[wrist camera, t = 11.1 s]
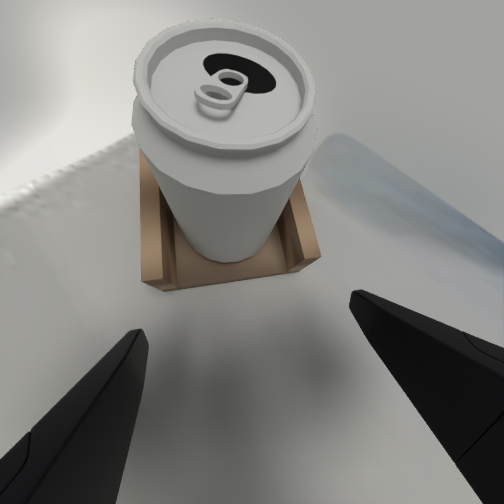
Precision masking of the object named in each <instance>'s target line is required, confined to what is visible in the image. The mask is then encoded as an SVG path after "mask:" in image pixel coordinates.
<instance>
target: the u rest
mask: <svg viewBox="0 0 504 504" xmlns="http://www.w3.org/2000/svg"><path fill="white" fill-rule="evenodd" d="M139 149H140V147H139ZM140 221H141V282H144V283H146V284H148V285H150V286H153V287H155V288H157V289H160V290H162V291H164V292H165V291H172V290H179V289H186V288H193V287H199V286H206V285H213V284H220V283H226V282H233V281H240V280H247V279H253V278H260V277H267V276H274V275H281V274H287V273H294V272H299V271H300V270H302V269H303V268H305V267H306V266H308V265H309V264H311V263H312V262H314V261H316V260H317V259H319V258H320V257H321V254H320V250H319V246H318V243H317V239H316V236H315V232H314V228H313V225H312V221H311V217H310V214H309V210H308V206H307V203H306V199H305V196H304V192H303V188H302V185H301V181H300V178H299V180H298V182H297V184H296V185H295V187H294V189H293V191H292V193H291V195H290V197H289V199H288V201H287V203H286V205H285V207H284V209H283V210H282V212H281V214H280V216H279V218H278V220H277V222H276V224H275V226H274V228H273V230H272V232H271V234H270V235H269V237H268V239H267V241H266V242H265V244H264V245H263V247H262V248H261V249H260V250H259V251H258V252H256V253H255V254H254V255H253V256H251V257H249V258H246V259H244V260H241V261H239V262H226V263H222V262H218V261H214V260H210V259H207V258H206V257H204V256H203V255H201V254H199V253H198V252H196V251H195V250H194V249H193V247H192V246H191V245H190V244H189V243H188V241H187V240H186V238H185V236H184V234H183V232H182V230H181V228H180V226H179V224H178V222H177V220H176V218H175V216H174V214H173V212H172V210H171V209H170V207H169V205H168V203H167V201H166V199H165V197H164V195H163V193H162V191H161V189H160V187H159V185H158V183H157V181H156V179H155V177H154V175H153V173H152V171H151V169H150V167H149V165H148V163H147V161H146V159H145V157H144V155H143V153H142V151H141V149H140Z"/></svg>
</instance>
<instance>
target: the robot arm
mask: <svg viewBox="0 0 504 504" xmlns="http://www.w3.org/2000/svg"><path fill="white" fill-rule="evenodd" d="M349 308H350V310H351V312H352V314H353V316H354V317H355V319H356V321H357V323H358V324H359V326H360V328H361V330H362V331H363V333H364V335H365V337H366V338H367V340H368V341H369V343H370V344H371V346H372V347H373V349H374V350H375V351H376V353H377V354H378V356H379V357H380V358H381V360H382V361H383V363H384V364H385V366H386V367H387V368H388V370H389V371H390V373H391V374H392V375H393V377H394V378H395V380H396V381H397V382H398V384H399V385H400V387H401V388H402V390H403V391H404V392H405V394H406V395H407V397H408V398H409V399H410V401H411V402H412V404H413V405H414V407H415V408H416V409H417V411H418V412H419V414H420V415H421V416H422V418H423V419H424V421H425V422H426V424H427V425H428V426H429V428H430V429H431V431H432V432H433V433H434V435H435V436H436V438H437V439H438V440H439V442H440V443H441V445H442V446H443V448H444V449H445V450H446V452H447V453H448V455H449V456H450V457H451V459H452V460H453V462H454V463H455V465H456V466H457V468H458V469H459V470H460V472H461V473H462V475H463V476H464V478H465V479H466V480H467V482H468V483H469V485H470V486H471V487H472V489H473V490H474V492H475V493H476V494H477V496H478V497H479V499H480V500H481V502H482V503H483V504H504V348H503V347H500V346H498V345H495V344H492V343H490V342H487V341H485V340H483V339H480V338H478V337H475V336H473V335H470V334H468V333H466V332H463V331H460V330H458V329H456V328H453V327H451V326H449V325H446V324H444V323H441V322H439V321H437V320H434V319H432V318H429V317H427V316H425V315H422V314H420V313H417V312H415V311H413V310H410V309H408V308H405V307H403V306H401V305H398V304H396V303H393V302H391V301H388V300H386V299H384V298H381V297H379V296H376V295H374V294H372V293H369V292H367V291H364V290H355V291H353V292H352V293H351V298H350V302H349ZM148 349H149V345H148V341H147V339H146V336H145V334H144V331H143V330H142V329H135V330H130V331H129V332H128V333H127V334H126V335H125V336H124V337H123V338H122V339H121V340H120V341H119V342H118V343H117V344H116V345H115V346H114V347H113V348H112V349H111V350H110V351H109V352H108V353H107V354H106V355H105V356H104V357H103V358H102V359H101V360H100V361H99V362H98V363H97V364H96V365H95V366H94V367H93V368H92V369H91V370H90V371H89V372H88V373H87V374H86V375H85V376H84V377H83V378H82V379H81V380H80V381H79V382H78V383H77V384H76V385H75V386H74V387H73V388H72V389H71V390H70V391H69V392H68V393H67V394H66V395H65V396H64V397H63V398H62V399H61V400H60V401H59V402H58V403H57V404H56V405H55V406H54V407H53V408H52V409H51V410H50V411H49V412H48V413H47V414H46V415H45V416H44V417H43V418H42V419H41V420H40V421H39V422H38V423H37V424H36V425H35V426H34V427H33V428H32V429H31V431H29V432H27V433H26V434H25V435H24V436H23V437H22V438H21V439H20V440H19V441H18V442H17V443H16V444H15V445H14V446H13V447H12V448H11V449H10V450H9V451H8V452H7V453H6V454H5V455H4V456H3V457H2V458H1V459H0V504H116V500H117V496H118V492H119V488H120V484H121V480H122V476H123V471H124V467H125V463H126V459H127V455H128V451H129V447H130V442H131V438H132V434H133V430H134V426H135V422H136V418H137V413H138V409H139V405H140V401H141V397H142V392H143V387H144V380H145V372H146V365H147V357H148Z"/></svg>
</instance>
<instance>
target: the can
mask: <svg viewBox="0 0 504 504" xmlns="http://www.w3.org/2000/svg"><path fill="white" fill-rule="evenodd" d="M133 84H134V86H135V88H136V92H137V94H138V95H137V96H136V98H135V100H134V104H133V114H132V127H133V130H134V133H135V136H136V138H137V141H138V144H139V147H140V149H141V151H142V153H143V155H144V157H145V159H146V161H147V163H148V165H149V167H150V169H151V171H152V173H153V175H154V177H155V179H156V181H157V183H158V185H159V187H160V189H161V191H162V193H163V195H164V197H165V199H166V201H167V203H168V205H169V207H170V209H171V210H172V212H173V214H174V216H175V218H176V220H177V222H178V224H179V226H180V228H181V230H182V232H183V234H184V236H185V238H186V240H187V241H188V243H189V244H190V245H191V246H192V247H193V249H194V250H195V251H196V252H198V253H199V254H201V255H203V256H204V257H206V258H207V259H210V260H214V261H218V262H222V263H226V262H239V261H241V260H244V259H246V258H249V257H251V256H253V255H254V254H255V253H256V252H258V251H259V250H260V249H261V248H262V247H263V245H264V244H265V242H266V241H267V239H268V237H269V235H270V234H271V232H272V230H273V228H274V226H275V224H276V222H277V220H278V218H279V216H280V214H281V212H282V210H283V209H284V207H285V205H286V203H287V201H288V199H289V197H290V195H291V193H292V191H293V189H294V187H295V185H296V184H297V182H298V180H299V178H300V176H301V174H302V172H303V170H304V168H305V166H306V164H307V162H308V160H309V158H310V157H311V155H312V153H313V151H314V144H315V138H316V132H317V128H316V124H315V120H314V116H313V111H314V106H315V100H316V94H317V92H316V88H315V84H314V80H313V76H312V73H311V71H310V70H309V68H308V67H307V66H306V64H305V62H304V61H303V59H302V58H301V56H300V55H299V54H298V53H297V52H296V51H295V50H294V49H292V48H291V47H290V46H289V45H288V44H286V43H285V42H284V41H283V40H282V39H280V38H278V37H276V36H274V35H272V34H270V33H268V32H266V31H265V30H263V29H260V28H257V27H254V26H250V25H247V24H244V23H241V22H237V21H228V20H217V19H206V20H196V21H187V22H184V23H181V24H178V25H175V26H172V27H169V28H167V29H165V30H163V31H162V32H160V33H159V34H158V35H156V36H155V37H153V38H152V39H151V40H149V41H148V42H147V44H146V45H145V46H144V48H143V50H142V51H141V53H140V54H139V56H138V57H137V59H136V61H135V68H134V76H133Z"/></svg>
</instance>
